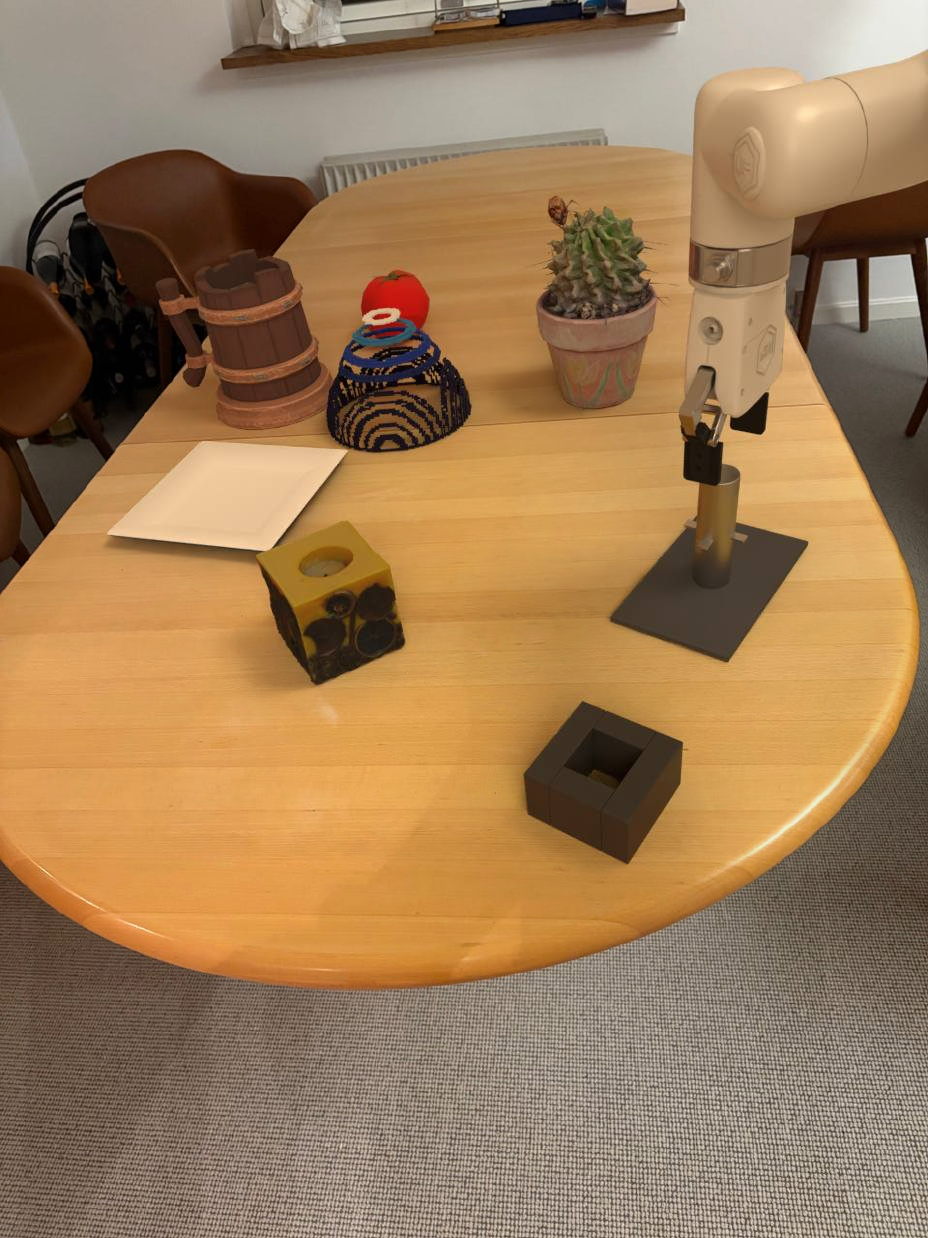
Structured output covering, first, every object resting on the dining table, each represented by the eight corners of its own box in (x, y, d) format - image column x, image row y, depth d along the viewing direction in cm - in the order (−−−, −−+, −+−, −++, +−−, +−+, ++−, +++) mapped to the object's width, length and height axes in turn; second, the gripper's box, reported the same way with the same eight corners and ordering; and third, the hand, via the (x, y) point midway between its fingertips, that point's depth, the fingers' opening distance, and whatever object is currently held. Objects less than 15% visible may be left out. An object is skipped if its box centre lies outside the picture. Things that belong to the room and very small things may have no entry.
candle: (277, 633, 90) (250, 554, 84) (365, 594, 93) (346, 516, 87) (314, 690, 83) (288, 608, 77) (409, 646, 86) (391, 565, 80)
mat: (807, 545, 91) (808, 540, 90) (728, 662, 79) (728, 657, 79) (698, 516, 97) (699, 512, 97) (609, 621, 85) (609, 616, 85)
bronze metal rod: (752, 569, 88) (765, 464, 80) (728, 603, 85) (738, 497, 77) (696, 553, 91) (703, 451, 83) (670, 585, 88) (674, 481, 80)
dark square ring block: (680, 783, 70) (683, 741, 67) (627, 865, 65) (628, 824, 62) (584, 741, 74) (582, 700, 71) (527, 814, 69) (522, 773, 66)
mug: (214, 377, 142) (173, 249, 129) (350, 368, 138) (321, 236, 125) (171, 433, 128) (120, 297, 115) (321, 426, 124) (286, 284, 111)
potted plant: (663, 429, 112) (670, 224, 96) (517, 419, 119) (501, 226, 103) (687, 367, 125) (697, 177, 109) (554, 361, 131) (544, 180, 115)
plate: (110, 546, 106) (104, 532, 105) (205, 452, 122) (201, 439, 121) (273, 564, 100) (268, 549, 98) (351, 462, 115) (348, 448, 114)
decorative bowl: (474, 378, 130) (463, 280, 121) (466, 445, 115) (452, 339, 106) (343, 389, 133) (322, 293, 123) (318, 456, 117) (291, 353, 108)
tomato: (355, 351, 143) (342, 288, 136) (382, 320, 152) (371, 259, 145) (419, 352, 139) (409, 288, 133) (443, 320, 148) (435, 258, 142)
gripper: (740, 304, 61) (725, 513, 71) (827, 226, 71) (802, 420, 81) (642, 292, 65) (641, 493, 75) (737, 220, 75) (725, 406, 85)
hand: (725, 455), depth 78 cm, fingers open, 9 cm apart
